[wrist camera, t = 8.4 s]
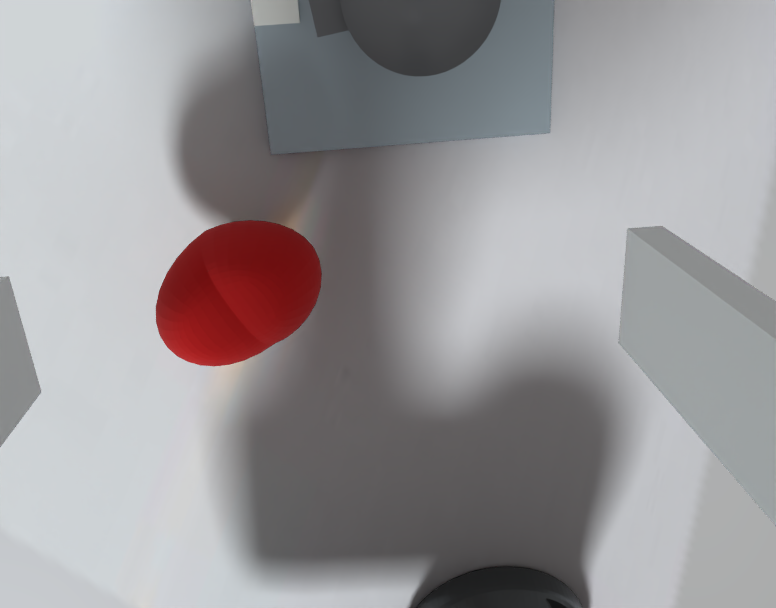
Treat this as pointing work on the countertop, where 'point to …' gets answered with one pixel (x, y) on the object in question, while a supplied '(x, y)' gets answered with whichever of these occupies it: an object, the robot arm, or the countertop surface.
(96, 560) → the countertop surface
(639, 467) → the countertop surface
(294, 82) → the lock base
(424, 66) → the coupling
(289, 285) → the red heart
